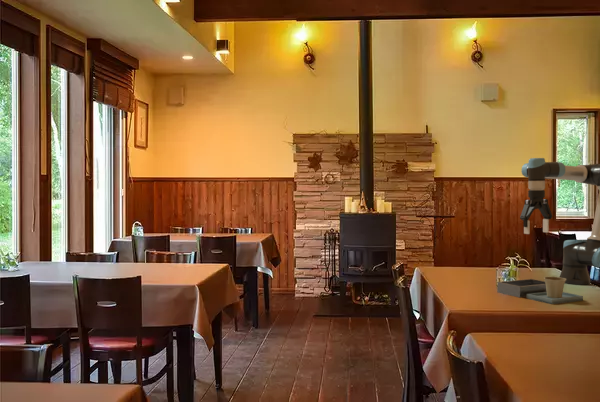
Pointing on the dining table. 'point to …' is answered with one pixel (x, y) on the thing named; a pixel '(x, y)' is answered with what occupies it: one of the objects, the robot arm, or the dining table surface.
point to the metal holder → (521, 287)
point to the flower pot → (554, 286)
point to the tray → (543, 298)
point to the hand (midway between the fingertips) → (536, 233)
